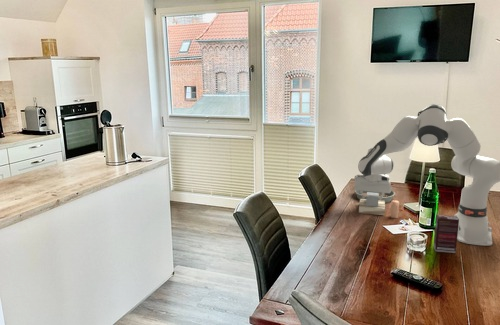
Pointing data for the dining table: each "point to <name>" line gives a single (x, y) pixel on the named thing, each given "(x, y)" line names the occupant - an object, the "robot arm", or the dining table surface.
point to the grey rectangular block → (372, 199)
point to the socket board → (372, 208)
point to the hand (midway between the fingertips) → (371, 198)
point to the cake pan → (386, 199)
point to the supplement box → (446, 233)
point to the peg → (394, 209)
